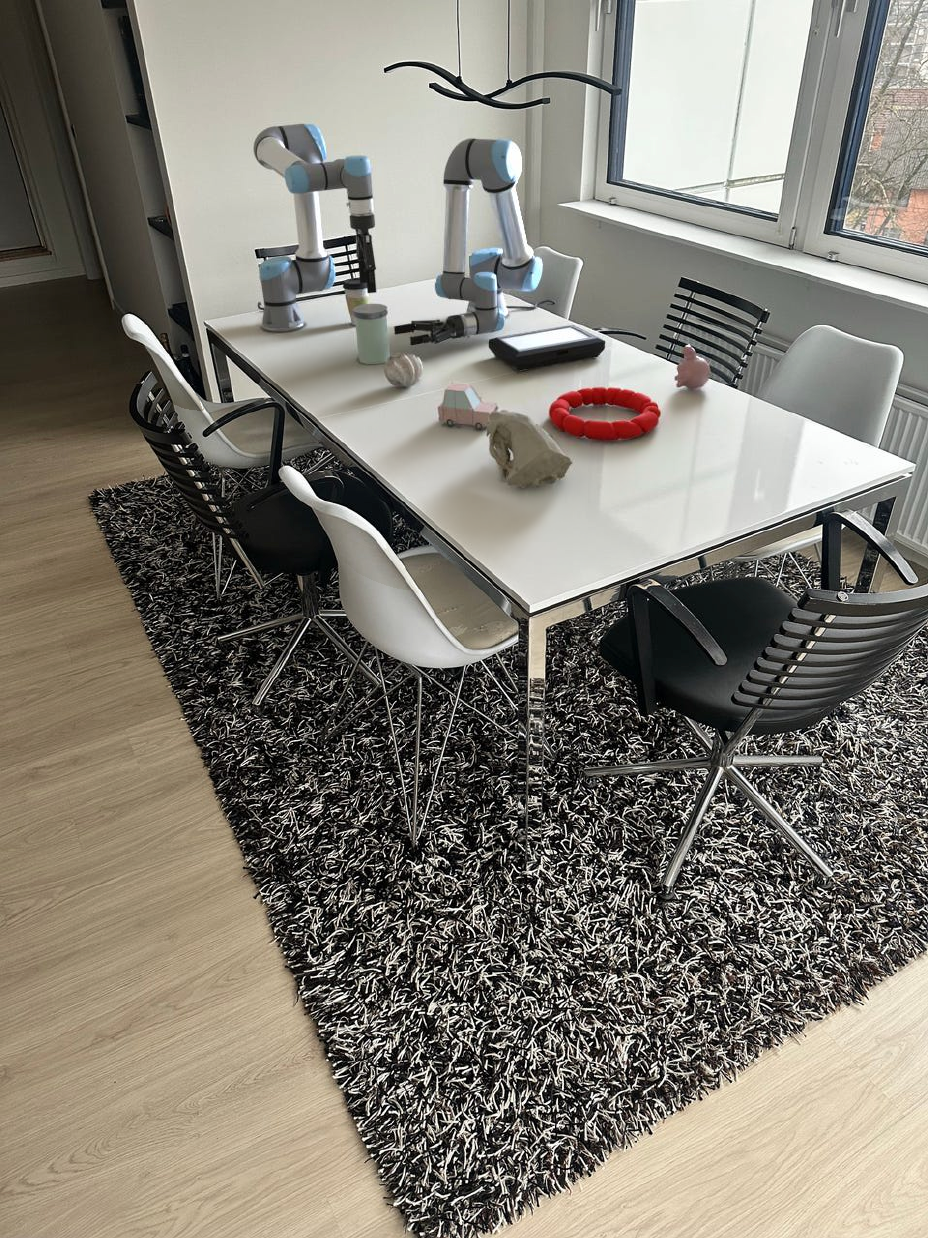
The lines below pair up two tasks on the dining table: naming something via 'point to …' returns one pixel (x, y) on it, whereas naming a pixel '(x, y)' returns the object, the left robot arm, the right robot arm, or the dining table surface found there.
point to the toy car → (465, 406)
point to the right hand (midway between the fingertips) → (402, 335)
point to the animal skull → (525, 450)
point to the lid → (370, 311)
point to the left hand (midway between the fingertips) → (368, 287)
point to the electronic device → (546, 347)
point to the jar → (372, 340)
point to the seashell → (403, 369)
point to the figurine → (692, 370)
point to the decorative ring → (604, 428)
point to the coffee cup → (355, 295)
